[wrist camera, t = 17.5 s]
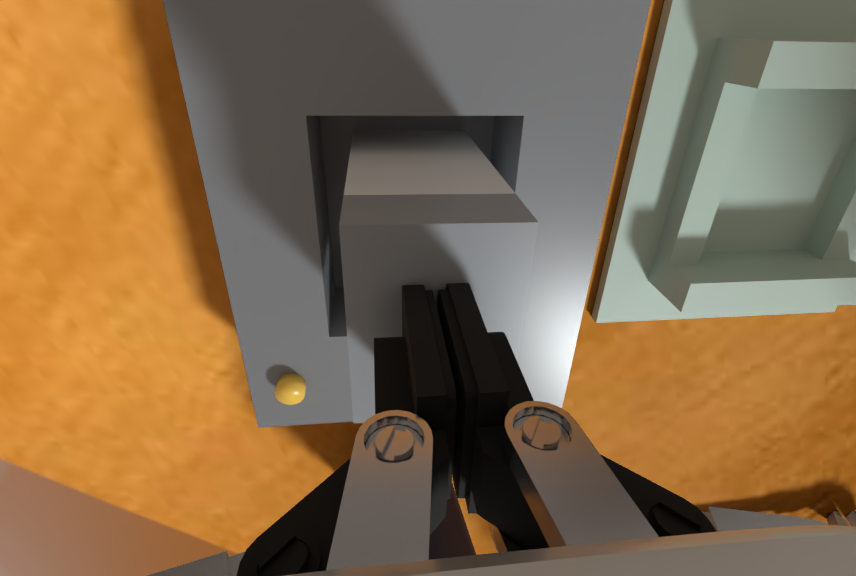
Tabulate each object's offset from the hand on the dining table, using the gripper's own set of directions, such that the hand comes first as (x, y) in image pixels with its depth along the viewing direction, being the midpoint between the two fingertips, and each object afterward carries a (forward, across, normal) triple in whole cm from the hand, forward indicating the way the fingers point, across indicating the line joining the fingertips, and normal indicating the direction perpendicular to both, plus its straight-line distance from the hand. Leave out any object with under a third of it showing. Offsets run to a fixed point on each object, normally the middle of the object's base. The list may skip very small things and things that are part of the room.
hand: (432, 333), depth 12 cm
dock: (+11, 0, 0) cm, 11 cm away
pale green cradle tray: (+11, -17, -1) cm, 20 cm away
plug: (+10, 0, 0) cm, 10 cm away
